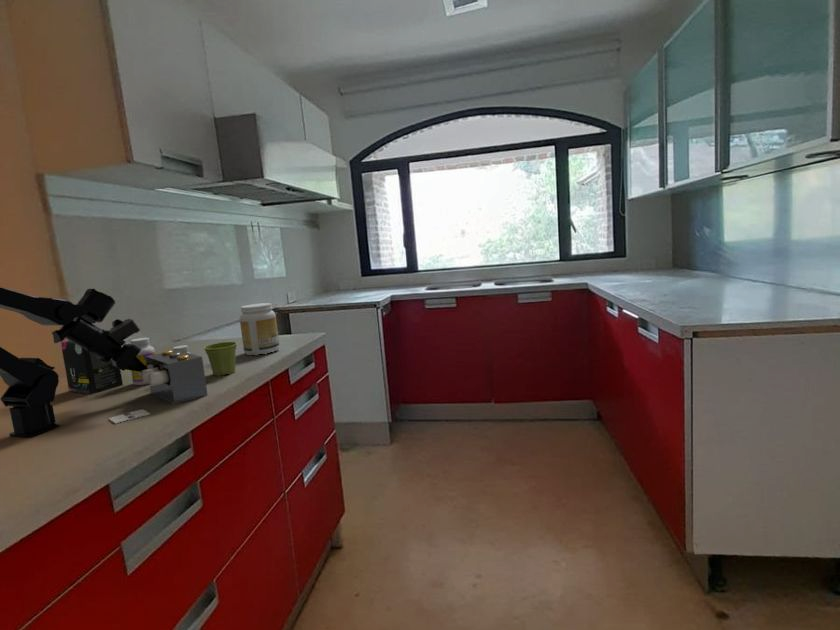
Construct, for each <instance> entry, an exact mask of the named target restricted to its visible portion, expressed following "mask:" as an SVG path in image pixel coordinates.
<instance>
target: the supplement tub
mask: <svg viewBox="0 0 840 630" xmlns="http://www.w3.org/2000/svg"><path fill="white" fill-rule="evenodd" d="M272 309H273V305H272V302H262V303H252V304H245V305H242V306H240V312H241V314H240V316H239V323H240V325H239V326H240V330H241V340H242V346H243V352H244V354H245V355H247V356H251V355H255V356H258V355H257V354H265V353H269V352H273V351H276V350H277V351H279V349H280V346H281V345H280V338H279V332H278V323H277V315H276V312H275V311H273V310H272ZM277 351H276V352H277ZM273 353H274V352H273ZM265 355H266V354H265Z"/></svg>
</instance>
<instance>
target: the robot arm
mask: <svg viewBox="0 0 840 630" xmlns="http://www.w3.org/2000/svg"><path fill="white" fill-rule="evenodd" d="M115 305H116V301H115V299H114V298H113V297H112V296H110V295H108V294H106V293H104V292H101V291H97V289H96V288H87V289H86V290H85V292H84V294H83V295H82V297H81V298H80V299H79V300H78V303H77V304H75V303H73V302H71V301H70V300H68V299H67V300H66V299H61V298H60V299H59V298H54V297H53V298H52V297H41V296H34V295H30V294H27V293H23V292H19V291H16V290H13V289H10V288H5V287H3V286H0V309H3V310H6V311H11V312H14V313H18V314H20V315H23V316H24V317H25V318H26V319H28V320H30V321H32V322H34V323H37V324H39V325H42V326H61V327H60V328H59V329H56V330H53V331H52V332H51V335H52V336H53V344H58V343H61V341H65V339H67V340H70V341H72V342H74V343H75V344H77V345H79V346H81V347H82V348H84V349H85V350H87V351H89V352H91V353H93V354H95V355H96V356H97V359H99V360H101V361H103V362H105V363H107V362H109V361H110V360H111V361H112V366H114V367H116V368H119V369H120V371H123V372H125V371H126V370H127V371H131V370H132V371H138V372H141V371H142V370H147V369H148V368H147V367H146V366H145V365H144V364H143V363H142V362H141V361H140V360H139V359H138V358H137V357H136V356H137V355H138V354H139V352H140V351H141V349H140V348H139V347H137V346H135V345H133V344H131V343H126V339H128V338H129V337H130V336H133V335H134V334H137V333H138V332H140V331H141V328H140V327H139V326H138V325H137V323H136V322H135V321H134V319H131V318H127V319H124V320H121V319H118V318H117V319H114V320H113V321H112V322H111V325H112V327H111V328H110V329H109V330H107V329H102V328H100V327H98V326H97V325H95V324H96V323H102V322H103V321H104V320H105V318H106V317H107V316H108V314H109V313H110V311H111V310H112V309H113V307H114V306H115ZM125 343H126V344H125ZM0 377H1V379H2V380H3V382H4V383H5V384H6V385H7V386H8V387H7V389H6V390H5V392H4V393H3V395H2V396H1V397H0V401H1V402H2V404H3V405H4V406H5V407H10V408H9V413H10V418H11V424H12V428H13V429H12V430H13V431H11V432H10V433H9V434H8V435H9V436H10V437H20V438H21V437H22V438H23V437H25V438H32V437H35V436H37V435H40V434H42V433H45V432H47V431H50V430H53V429H54V428H55V429H56V428H58V427H59V426H61V424H60V423H58V422H57V423H56V415H55V411H54V406H53V404H51V403H53V402H54V401H55V398H56V391H57V389H58V386H59V381H60V380H59V377H60V376H59V374H58V373H57V371H55V366H50V365H49V364H47V363H46V362H45V361H44V360H42V359H41V358H39V357H18V356H16V355H14V354H13V353H11V352H9V351H8V350H6V349H5V348H3V347H2V346H0Z"/></svg>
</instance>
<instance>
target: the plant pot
mask: <svg viewBox="0 0 840 630" xmlns="http://www.w3.org/2000/svg"><path fill="white" fill-rule="evenodd" d="M237 345H238V342H236V341H223V342H217V343H212V344H208V345H205V346H204V347H203V350H204V351H205V354H206V355H207V358H208V361H209V364H210V366H211V367H210V368H211V371H212V374H213V375H214V376H216V377H217V376H218V377H221V375H223V376H225V375H230V374H231V373H232V374H233V372H234V373H236V350H237Z"/></svg>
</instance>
